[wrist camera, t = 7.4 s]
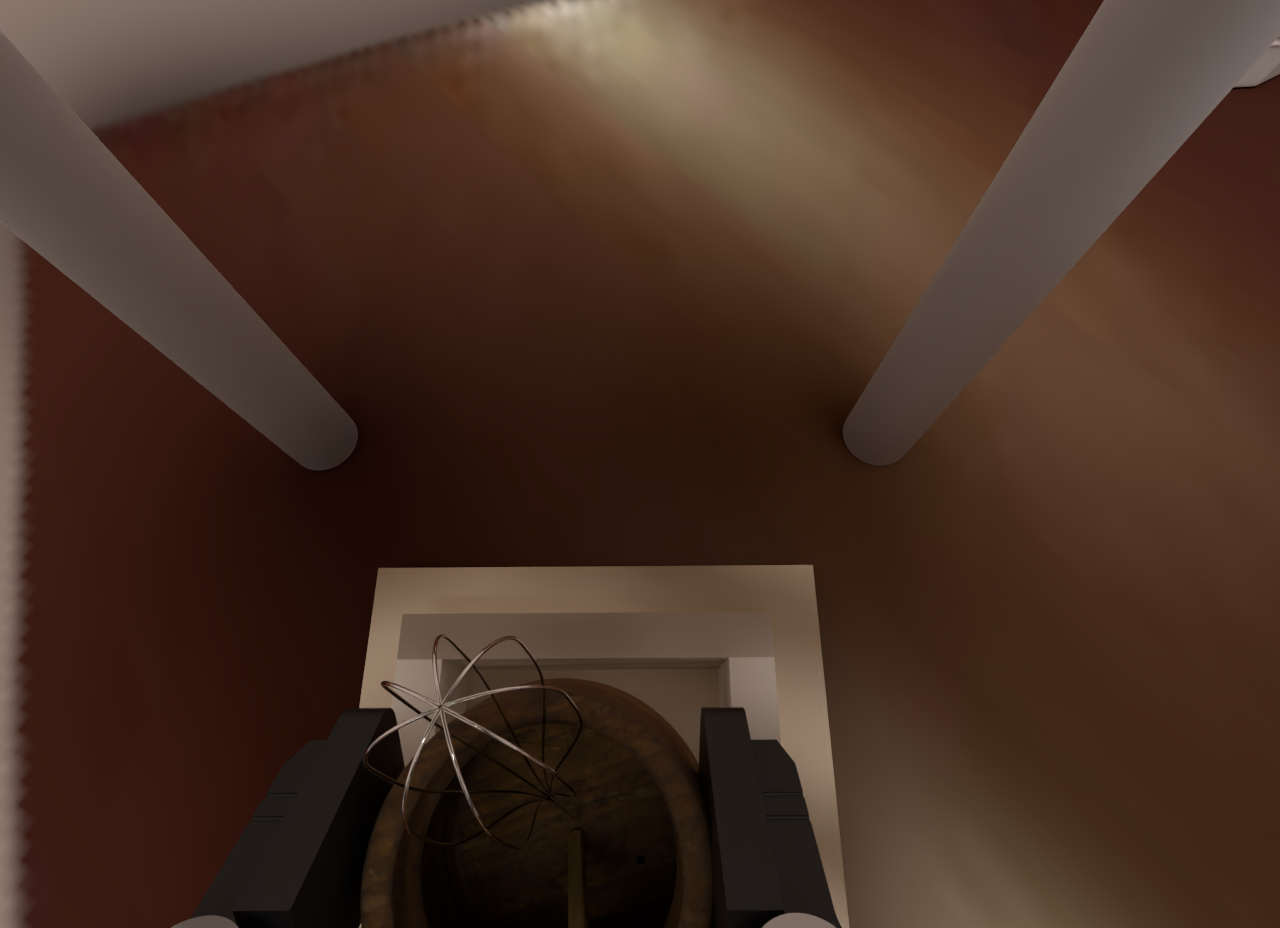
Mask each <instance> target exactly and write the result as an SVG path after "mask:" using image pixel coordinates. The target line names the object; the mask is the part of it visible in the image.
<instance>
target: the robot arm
mask: <svg viewBox="0 0 1280 928" xmlns="http://www.w3.org/2000/svg"><path fill="white" fill-rule="evenodd" d="M396 725H397V720H396V715H395V712H394V710H393V709H392V708H348V709H346V710H344V711H343V712H342V714H341V715H340V717H339V719H338V721H337V722H336V724H335V726H334V728H333V730H332V731H331V733H330V735H329V737H328V739H327V740H321V741H310V742H308V743H307V744H306V745H305V746H304V747H303V748H302V749H301V750H300V751H298V752H297V753H296V754H295V755H294V756H293V757H292V758H291V759H290V760H288V761H287V762H286V763H285V764H284V765H283V767H282V768H281V770H280V772H279V773H278V775H277V777H276V778H275V780H274V782H273V783H272V785H271V787H270V788H269V790H268V792H267V796H266V799H263V800H262V801H261V803H260V805H259V806H258V808H257V810H256V811H255V813H254V815H253V819H252V822H249V823H248V825H247V826H246V828H245V830H244V831H243V833H242V835H241V836H240V838H239V840H238V841H237V843H236V845H235V846H234V848H233V850H232V851H231V853H230V855H229V856H228V858H227V860H226V861H225V863H224V865H223V866H222V868H221V869H220V871H219V873H218V874H217V876H216V878H215V879H214V881H213V883H212V884H211V886H210V888H209V889H208V891H207V893H206V894H205V896H204V898H203V899H202V901H201V903H200V904H199V906H198V908H197V909H196V911H195V912H194V914H193V915H192V917H191V918H190V919H189V920H186V921H184V922H181V923H179V924H177V925H175V926H173V927H171V928H359V927H360V924H361V911H360V901H361V884H362V874H363V868H364V862H365V857H366V853H367V849H368V844H369V841H370V837H371V834H372V831H373V828H374V825H375V823H376V820H377V817H378V815H379V812H380V810H381V808H382V806H383V804H384V802H385V800H386V797H387V796H388V794H389V792H390V790H391V788H392V787H393V785H394V784H392V783H390V782H388V781H386V780H384V779H382V778H381V777H379V776H377V775H375V774H373V773H372V772H370V771H369V770H368V769H366V768H365V766H364V764H363V756H364V754H365V752H366V750H367V748H368V747H369V746H370V745H371V744H372V743H373V741H375V740H376V739H377V738H378V737H379V736H381V735H382V734H383V733H385V732H386V731H388V730H389V729H391V728H393V727H394V726H396ZM367 761H368V764H369V765H370V766H371V767H373V768H374V769H375V770H377V771H379V772H381V773H383V774H384V775H386V776H388V777H390V778H392V779H394V780H397V779H398V777H399V776H400V774H401V773H402V771H403V770H404V768H405V765H404V759H403V754H402V748H401V742H400V737H399V731H398V730H396V731H395V732H393V733H391V734H390V735H388V736H387V737H385V738H384V739H383V740H381V741H380V742H379V743H378V744H377V745H376V746H375V747H374V748H373V749H372V750H371V752H370V753H369V756H368V759H367ZM698 773H699V783H700V791H701V794H702V796H703V799H704V802H705V804H706V808H707V814H708V821H709V829H710V838H711V849H712V867H713V917H712V925H711V928H842V927H841V925H840V923H839V921H838V919H837V916H836V913H835V910H834V906H833V902H832V899H831V895H830V891H829V887H828V884H827V880H826V876H825V872H824V869H823V865H822V861H821V857H820V854H819V850H818V846H817V842H816V839H815V835H814V831H813V827H812V824H811V821H810V820H809V812H808V809H807V805H806V801H805V797H803V790H802V786H801V782H800V779H799V775H798V771H797V767H796V764H795V762H794V761H793V760H792V758H791V757H790V756H789V755H788V753H787V752H786V751H785V749H784V748H783V747H782V746H781V744H780V743H779V742H778V740H777V739H765V740H751V737H750V732H749V727H748V722H747V717H746V713H745V709H744V708H743V707H702V708H701V717H700V743H699V770H698Z"/></svg>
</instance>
